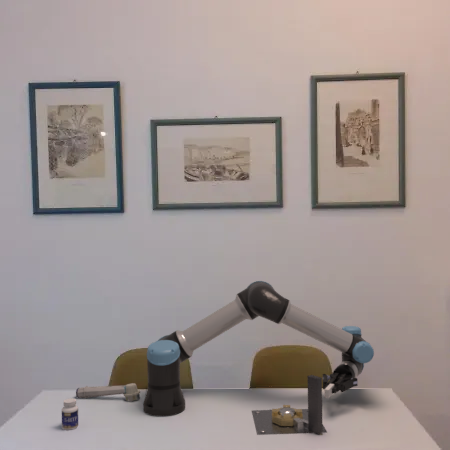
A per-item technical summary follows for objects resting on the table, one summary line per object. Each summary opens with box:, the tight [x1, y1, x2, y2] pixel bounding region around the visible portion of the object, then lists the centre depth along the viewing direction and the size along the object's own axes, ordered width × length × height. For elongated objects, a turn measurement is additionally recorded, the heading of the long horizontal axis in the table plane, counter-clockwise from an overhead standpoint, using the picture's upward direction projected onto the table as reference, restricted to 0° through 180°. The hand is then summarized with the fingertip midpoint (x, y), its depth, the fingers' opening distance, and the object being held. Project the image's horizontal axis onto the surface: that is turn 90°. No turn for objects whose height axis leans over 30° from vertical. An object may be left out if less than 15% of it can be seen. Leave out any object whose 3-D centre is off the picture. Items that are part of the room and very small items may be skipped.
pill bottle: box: [61, 397, 79, 431], centre depth 166 cm, size 5×5×9 cm
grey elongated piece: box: [75, 382, 141, 403], centre depth 193 cm, size 5×7×25 cm
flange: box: [251, 407, 328, 436], centre depth 165 cm, size 22×22×4 cm
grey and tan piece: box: [271, 374, 323, 435], centre depth 162 cm, size 19×10×17 cm, turn 40°
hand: (326, 393), depth 166 cm, fingers closed
